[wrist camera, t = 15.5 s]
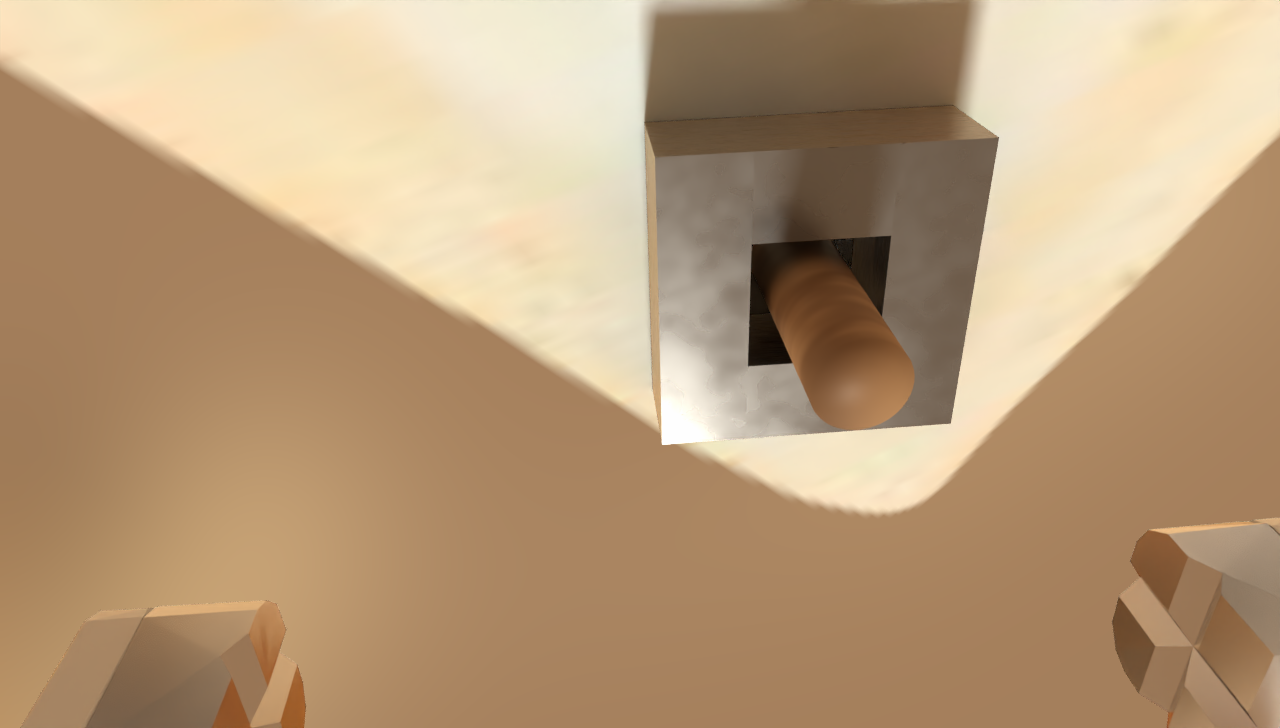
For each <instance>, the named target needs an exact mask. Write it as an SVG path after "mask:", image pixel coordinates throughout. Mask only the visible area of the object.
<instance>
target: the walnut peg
mask: <svg viewBox="0 0 1280 728" xmlns="http://www.w3.org/2000/svg"><path fill="white" fill-rule="evenodd" d="M751 269H752V272H753V275H754V277H755V279H756V281H757V284H758V286H759V288H760V290H761V293H762V295H763V297H764V299H765V302H766V304H767V306H768V309H769V311H770V313H771V315H772V318H773V320H774V322H775V324H776V327H777V329H778V331H779V333H780V336H781V338H782V340H783V342H784V345H785V347H786V349H787V351H788V354H789V356H790V358H791V361H792V363H793V365H794V367H795V370H796V372H797V374H798V376H799V379H800V381H801V383H802V385H803V388H804V390H805V392H806V394H807V397H808V399H809V401H810V403H811V406H812V408H813V410H814V412H815V413H816V414H817V415H818V417H819V418H820V419H822V420H823V421H824V422H826V423H827V424H829V425H831V426H833V427H836V428H840V429H845V430H860V429H866V428H870V427H873V426H876V425H879V424H881V423H883V422H885V421H886V420H888V419H890V418H891V417H892V416H894V415H895V414H896V413H897V412H898V411H899V410H900V409H901V408H902V407H903V406H904V405H905V403H906V402H907V400H908V398H909V396H910V395H911V392H912V389H913V385H914V378H915V375H914V368H913V365H912V362H911V360H910V358H909V357H908V355H907V354H906V352H905V351H904V349H903V348H902V346H901V345H900V343H899V342H898V340H897V339H896V337H895V336H894V334H893V333H892V331H891V330H890V328H889V327H888V325H887V324H886V322H885V321H884V319H883V318H882V316H881V315H880V313H879V312H878V310H877V309H876V307H875V306H874V304H873V303H872V301H871V300H870V298H869V297H868V295H867V294H866V292H865V291H864V289H863V288H862V286H861V285H860V283H859V282H858V280H857V279H856V277H855V276H854V274H853V273H852V271H851V270H850V268H849V267H848V265H847V264H846V262H845V261H844V259H843V258H842V256H841V255H840V253H839V252H838V250H837V249H836V247H835V246H834V244H833V243H832V241H831V240H830V239H829V240H813V241H797V242H781V243H765V244H754V245H753V248H752V251H751Z"/></svg>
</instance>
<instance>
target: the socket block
mask: <svg viewBox="0 0 1280 728" xmlns="http://www.w3.org/2000/svg"><path fill="white" fill-rule="evenodd" d="M644 124H645V156H646V189H647V222H648V254H649V287H650V319H651V352H652V385H653V394H654V400H655V406H656V411H657V417H658V423H659V429H660V435H661V440H662V444H677V443H691V442H704V441H718V440H732V439H745V438H759V437H772V436H786V435H800V434H813V433H827V432H840V431H854V430H845V429H840V428H836V427H833V426H831V425H829V424H827V423H826V422H824V421H823V420H822V419H820V418H819V417H818V415H817V414H816V413H815V412H814V410H813V408H812V406H811V403H810V401H809V399H808V397H807V394H806V392H805V390H804V388H803V385H802V383H801V381H800V379H799V376H798V374H797V372H796V370H795V367H794V365H793V363H792V361H791V358H790V356H789V354H788V351H787V349H786V347H785V345H784V342H783V340H782V338H781V336H780V333H779V331H778V329H777V327H776V324H775V322H774V320H773V318H772V315H771V313H767V314H752V315H749V314H750V282H751V250H752V244H765V243H781V242H797V241H813V240H829V239H845V238H854V244H853V254H852V265H851V271H852V273H853V274H854V276H855V277H856V279H857V280H858V282H859V283H860V285H861V286H862V288H863V289H864V291H865V292H866V294H867V295H868V297H869V298H870V300H871V301H872V303H873V304H874V306H875V307H876V309H877V310H878V312H879V313H880V315H881V316H882V318H883V319H884V321H885V322H886V324H887V325H888V327H889V328H890V330H891V331H892V333H893V334H894V336H895V337H896V339H897V340H898V342H899V343H900V345H901V346H902V348H903V349H904V351H905V352H906V354H907V355H908V357H909V358H910V360H911V362H912V365H913V368H914V375H915V378H914V385H913V389H912V392H911V395H910V396H909V398H908V400H907V402H906V403H905V405H904V406H903V407H902V408H901V409H900V410H899V411H898V412H897V413H896V414H895V415H894V416H892V417H891V418H890V419H888V420H886V421H885V422H883V423H881V424H879V425H876V426H873V427H870V428H866V429H860V430H868V429H881V428H895V427H908V426H922V425H935V424H949V423H951V418H952V412H953V406H954V400H955V395H956V389H957V383H958V377H959V371H960V365H961V359H962V353H963V347H964V341H965V335H966V329H967V323H968V318H969V312H970V306H971V300H972V294H973V288H974V282H975V276H976V270H977V264H978V258H979V252H980V246H981V240H982V235H983V229H984V223H985V217H986V211H987V205H988V199H989V193H990V187H991V181H992V175H993V169H994V163H995V157H996V152H997V146H998V140H999V137H997V136H996V135H994V134H993V133H992V132H990V131H989V130H987V129H986V128H985V127H983V126H982V125H980V124H979V123H977V122H976V121H975V120H973V119H972V118H970V117H969V116H967V115H966V114H965V113H963V112H962V111H960V110H959V109H958V108H956V107H955V106H953V105H948V106H930V107H912V108H893V109H875V110H857V111H839V112H821V113H803V114H785V115H767V116H749V117H731V118H713V119H694V120H676V121H658V122H644Z"/></svg>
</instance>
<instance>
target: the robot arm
mask: <svg viewBox="0 0 1280 728" xmlns="http://www.w3.org/2000/svg"><path fill="white" fill-rule="evenodd" d="M1130 562H1131V564H1132V566H1133V567H1134V569H1135V570H1136V572H1137V573H1138V575H1139V578H1138V579H1137V580H1136V581H1135V582H1134V583H1133V584H1132V585H1131V586H1129V587H1128V588H1127V589H1126V590H1125V591H1124V592H1123V593H1122V594H1120V595H1119V597H1118V601H1117V605H1116V609H1115V613H1114V617H1113V621H1112V625H1113V633H1114V640H1115V649H1116V652H1117V654H1118V657H1119V659H1120V662H1121V664H1122V667H1123V669H1124V671H1125V673H1126V675H1127V676H1128V678H1129V679H1130V681H1131V683H1132V684H1133V686H1134V687H1135V689H1136V690H1137V692H1138V693H1139V694H1140V695H1142V696H1143V697H1145V698H1146V699H1148V700H1150V701H1151V702H1153V703H1154V704H1156V705H1158V706H1159V707H1161V708H1162V709H1164V710H1166V711H1167V712H1168V718H1167V728H1280V518H1269V519H1258V520H1252V521H1249V522H1244V521H1241V522H1230V523H1218V524H1207V525H1196V526H1186V527H1185V526H1184V527H1173V528H1162V529H1150V530H1147V531H1146V532H1145V533H1144V534H1143V536H1141V537H1140V538H1139V540H1138V541H1137V542H1136V545H1135V548H1134V551H1133V554H1132V557H1131V560H1130ZM285 633H286V627H285V625H284V622H283V620H282V616H281V614H280V611H279V609H278V606H277V604H276V603H273V602H270V601H267V600H263V601H246V602H245V601H244V602H227V603H209V604H191V605H173V606H157V607H156V608H147V609H146V608H145V609H123V610H102V611H99V612H97V613H96V614H94V615H93V616H92V617H90V618H89V619H87V620H86V621H85V622H84V623H83V624H82V626H81V627H80V629H79V631H78V632H77V634H76V636H75V637H74V639H73V641H72V643H71V644H70V646H69V647H68V649H67V651H66V652H65V654H64V656H63V657H62V659H61V661H60V662H59V664H58V666H57V667H56V669H55V671H54V673H53V674H52V676H51V677H50V679H49V681H48V682H47V684H46V686H45V687H44V689H43V691H42V692H41V694H40V696H39V697H38V699H37V701H36V702H35V704H34V706H33V707H32V709H31V711H30V712H29V714H28V716H27V717H26V719H25V720H24V722H23V724H22V726H21V727H20V728H304V724H305V712H306V704H305V696H304V687H303V681H302V678H301V675H300V671H299V668H298V665H297V664H296V663H295V662H293V661H292V660H291V659H289V658H288V657H286V656H285V655H283V654H282V653H280V652H279V651H280V648H281V645H282V642H283V639H284V636H285Z"/></svg>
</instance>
